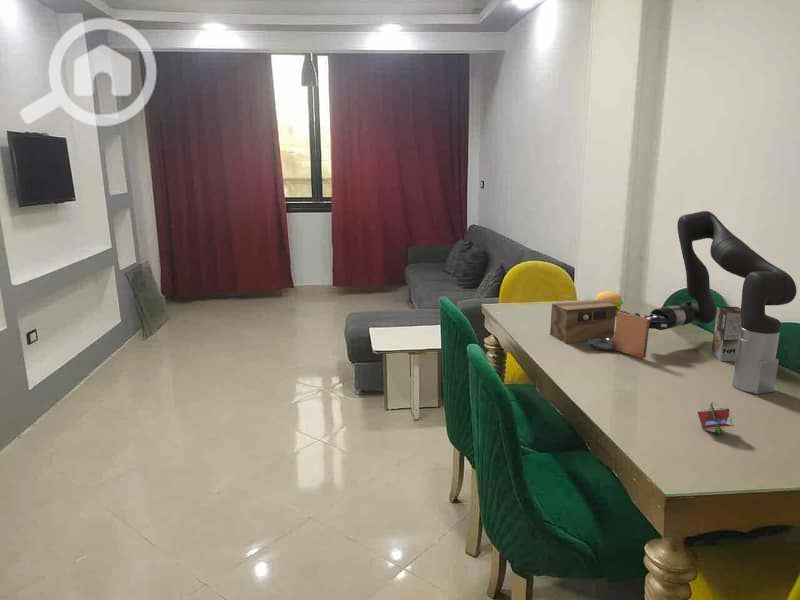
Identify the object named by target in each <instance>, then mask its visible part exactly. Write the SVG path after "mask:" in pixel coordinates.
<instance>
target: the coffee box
mask: <svg viewBox="0 0 800 600" xmlns="http://www.w3.org/2000/svg"><path fill="white" fill-rule="evenodd" d="M740 311H741V307H739V306H720V305H719V306H716V317H715V321H714V322H715V324H714V330H713V338H712V346H711V353H712V355H714V356H715V357H716V358H717V359H718V360H719V361H721V362H733V363H735V360H736V353H737V346H738V340H739V333H740V327H741V316H740Z"/></svg>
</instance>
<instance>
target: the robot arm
mask: <svg viewBox="0 0 800 600" xmlns="http://www.w3.org/2000/svg"><path fill="white" fill-rule="evenodd" d="M676 226H677V235H678V239H679V240H678V241H679V245H680V250H681V255H682V259H683V263H684V268H685V276H686V293H687V295H688V297H690V298H692V300H691V299H690V300H686V301H684V302H683V303H681V304H678V305H668V306H663V307H657V308H656V307H655V308H654V309H652V311H651V312H650V313H647V314H643V315H641V314H640V313H639V312H636V313H635V314H634V315H635V316H639V317H643V318H647V319H650V323H649V330H650V329H651V330H653V329H654V330H658V331H665V330H669V329H674V328H678V327H681V326H684V325H685V326H686V325H689V324H691V323H693V322H698V323H701V324H702V323H703V324H710V323H712V322H713V321H714V320H716V313H717V306H716V304H715V301H714V298H713V295H712V292H711V291H710V290H711V286H710V274H709V271H708V268H707V266H706V265H705V264H704V262H703V261H702V260H701V259H700V258H699V257H698V255H697V254H696V252H695V249H694V246H693V242H695V241H701V240H705V239H711V240H712V241H711V245H710V249H709V252H710V256H711V258H712V260H713V261H714V262H715V263H716V264H717V265H718V266H719V267H720V268H722V269H723V270H724V271H726V272H728V273H729V274H732V275H735V276H738V277H740V278H743V279H744V280H743V284H742V291H741V301H740V302H741V303H740V309H741V311H740V316H741V327H740V333H739V340H738V346H737V353H736V360H735V362H734V367H733V374H732V375H733V376H732V382H731V385H732V386H733V387H734V388H737V389H739V390H741V391H743V392H748V393H752V394H755V395H760V394H767V393H774V391H775V384H776V379H777V374H778V370H779V369H778V368H779V358H777V352H778V346H779V339H780V334H781V329H782V328H781V327H782V322H781V321H780V320H779V319H778V318H775V317H773V316H769V315H767V314H766V306H782V305H783V306H784V305H787V304H789V303H792V302H793V301H794V299H795V297H796V296H797V284H796V282H795V281H794V279H793V277H792V276H791V275H790V274H789V273H787V272H786V271H785V270H783V269H781V268H780V267H778V266H776V265H775V264H773V263H772V262H769V261H767V260H766V259H765V258H763V256H761V255H760V254H758V253H757V252H756V251H755V250H753V249H752V248H751V246H749V245H748V244H746V243H745V242H744V241H743V240H741V239H740V238H739V237H737V236H736V235H734V233H733V232H731V231H730V229H728V228H727V227H726V226H725V225H724V224H723V223H722V221H720V220H719V219H718V217H717V216H716V215H715V214H714V213H713V212H712V211H708V210H701V211H698V212H692V213H688V214H683V215H680V217H679V218H678V220H677V225H676Z"/></svg>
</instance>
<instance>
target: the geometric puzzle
mask: <svg viewBox="0 0 800 600" xmlns="http://www.w3.org/2000/svg"><path fill="white" fill-rule="evenodd" d="M713 404H714V402H713V401H712V402H711V403H710V404H709V408H708V409H707V410H706V409H705V410H703V409H704V408H705V407H706V406H705V407H703V408H701V409H700V410H699V411H697V415H698V418H699V422H700V425H701V428H702V430H703V429H704V430H706V429H707V431H708V432H709V430H712V429H716V430H717V433H718V434H717V433H715V432H714V431H713V430H712V433H715V434H716V435H717V436H719V437H720V436H721V432H722V431H723V429H724V428H725V429H726V427H727V428H729V427H730V428H731V427H734V426H735V415H734V414H733V413H732V411H731V409H730V408H721V407H722V405H721V404H720V405H719V406H718V404H715V406H716V407H718V409H715V406H714V405H713ZM708 429H709V430H708Z"/></svg>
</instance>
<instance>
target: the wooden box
mask: <svg viewBox="0 0 800 600" xmlns="http://www.w3.org/2000/svg"><path fill="white" fill-rule="evenodd" d="M616 317H617V314H616V305H613V304H610V303H608V302H605V301H602V300H600V299H598V300H594V299H590V300H589V299H587V300H577V301H576V300H575V301H565V302H563V301H562V302H554V303H553V302H552V303H551V313H550V330H549V335H550V336H551V335H552V337H553V336H554V338H555V337H556V338H555V339H556V340H559V341H561V342H562V341H563V342H562V343H564V344H567V343H579V342H587V338H595V337H610V334H611V332H615V328H616ZM578 341H579V342H578Z"/></svg>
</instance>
